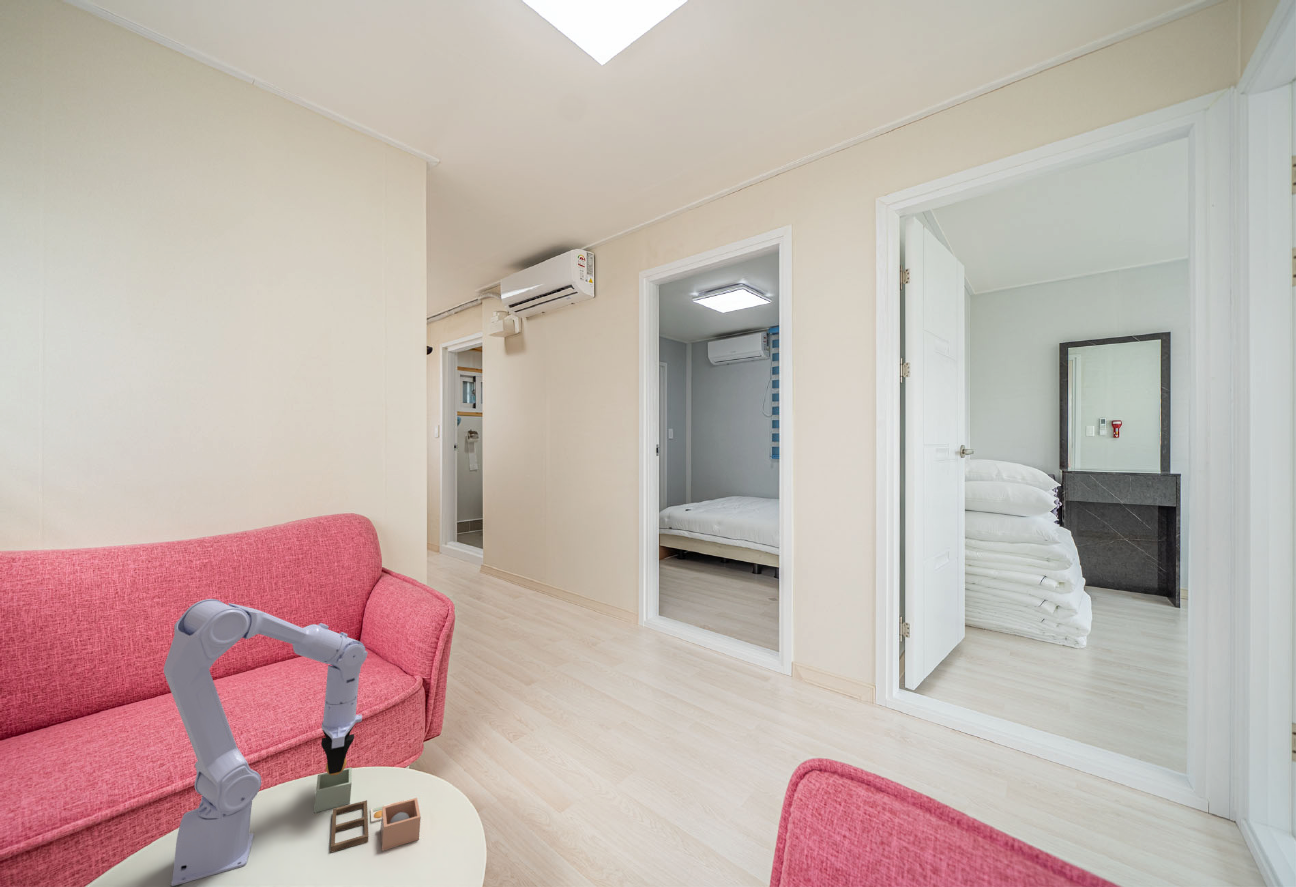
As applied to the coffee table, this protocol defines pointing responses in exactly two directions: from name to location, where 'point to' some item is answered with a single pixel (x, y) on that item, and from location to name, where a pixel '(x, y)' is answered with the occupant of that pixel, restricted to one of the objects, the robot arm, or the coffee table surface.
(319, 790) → the sage open box
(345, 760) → the orange ball
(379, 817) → the card
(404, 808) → the pink open box
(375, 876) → the coffee table surface
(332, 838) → the rack
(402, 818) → the grey ball
